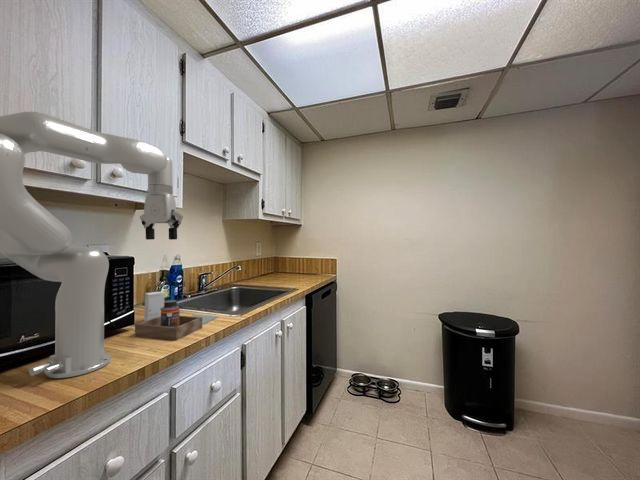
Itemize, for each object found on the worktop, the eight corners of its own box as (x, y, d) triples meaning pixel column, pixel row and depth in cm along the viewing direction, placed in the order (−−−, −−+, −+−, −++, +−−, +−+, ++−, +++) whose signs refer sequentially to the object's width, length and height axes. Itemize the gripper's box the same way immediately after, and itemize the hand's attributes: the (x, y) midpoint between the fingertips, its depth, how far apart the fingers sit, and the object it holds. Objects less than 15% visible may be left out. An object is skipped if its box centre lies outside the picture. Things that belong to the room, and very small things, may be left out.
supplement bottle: (173, 334, 93) (173, 302, 93) (156, 334, 93) (157, 302, 93) (182, 329, 99) (182, 299, 99) (167, 329, 99) (167, 299, 99)
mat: (199, 326, 103) (199, 325, 103) (173, 323, 105) (173, 322, 105) (217, 317, 114) (217, 316, 114) (194, 315, 117) (194, 314, 117)
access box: (176, 340, 88) (176, 328, 88) (135, 336, 92) (135, 324, 92) (202, 327, 101) (202, 317, 101) (164, 324, 104) (164, 314, 104)
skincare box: (147, 325, 104) (147, 294, 104) (143, 323, 106) (144, 293, 107) (164, 321, 108) (165, 292, 108) (160, 319, 111) (161, 290, 111)
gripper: (131, 190, 92) (132, 239, 92) (173, 188, 88) (174, 239, 89) (149, 194, 99) (150, 239, 100) (189, 192, 96) (189, 239, 96)
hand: (161, 239), depth 94 cm, fingers open, 9 cm apart
